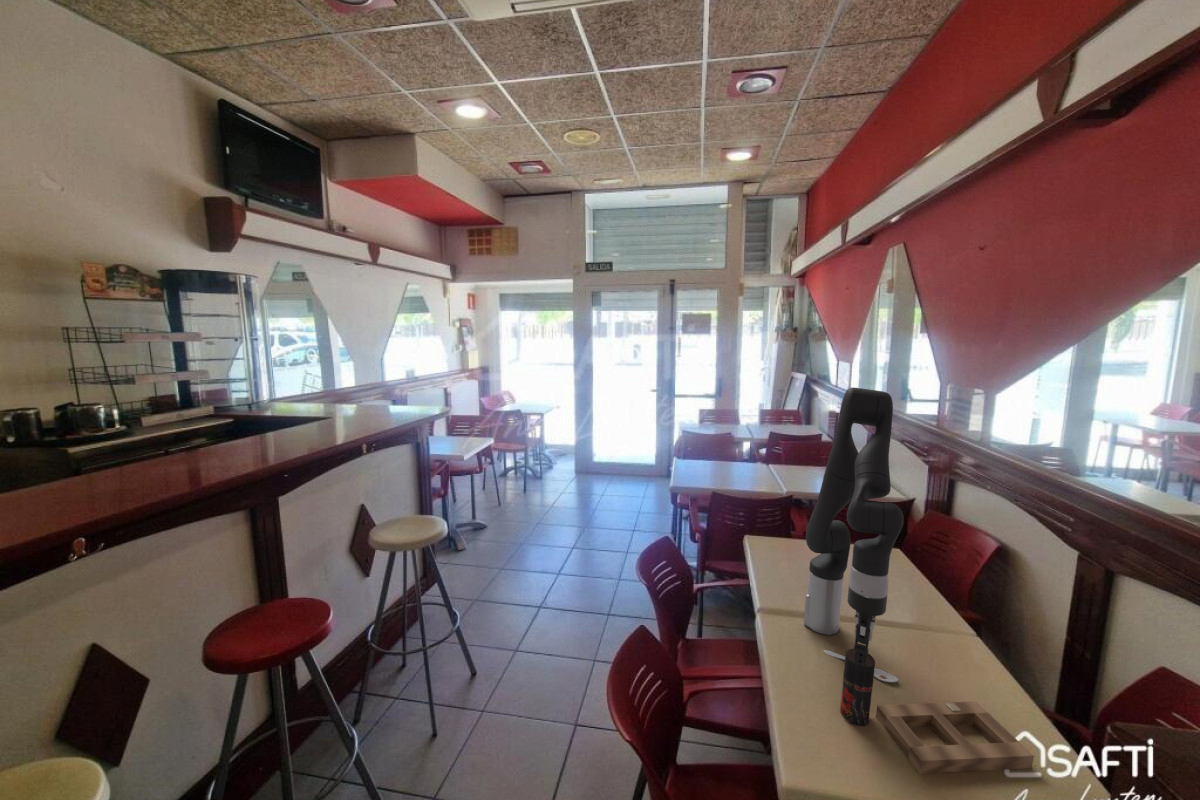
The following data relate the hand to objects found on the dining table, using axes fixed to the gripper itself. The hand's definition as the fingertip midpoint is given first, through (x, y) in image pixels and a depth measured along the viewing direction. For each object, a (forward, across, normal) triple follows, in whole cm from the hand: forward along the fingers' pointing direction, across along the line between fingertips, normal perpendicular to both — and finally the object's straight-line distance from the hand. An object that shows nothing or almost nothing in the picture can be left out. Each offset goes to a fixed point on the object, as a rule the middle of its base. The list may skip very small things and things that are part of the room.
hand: (861, 653), depth 106 cm
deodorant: (+16, 0, 0) cm, 16 cm away
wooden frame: (+16, -4, +18) cm, 24 cm away
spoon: (+17, -19, -2) cm, 25 cm away
